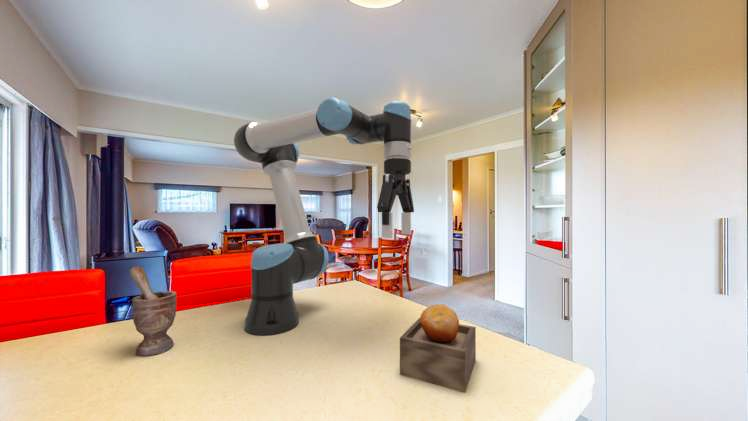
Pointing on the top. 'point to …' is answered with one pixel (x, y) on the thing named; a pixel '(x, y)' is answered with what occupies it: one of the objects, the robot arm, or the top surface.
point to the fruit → (439, 323)
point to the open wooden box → (438, 357)
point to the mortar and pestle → (152, 315)
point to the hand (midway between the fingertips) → (397, 236)
